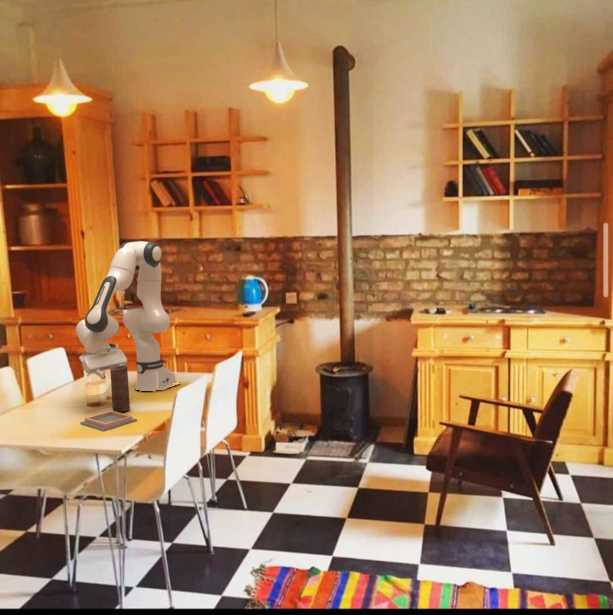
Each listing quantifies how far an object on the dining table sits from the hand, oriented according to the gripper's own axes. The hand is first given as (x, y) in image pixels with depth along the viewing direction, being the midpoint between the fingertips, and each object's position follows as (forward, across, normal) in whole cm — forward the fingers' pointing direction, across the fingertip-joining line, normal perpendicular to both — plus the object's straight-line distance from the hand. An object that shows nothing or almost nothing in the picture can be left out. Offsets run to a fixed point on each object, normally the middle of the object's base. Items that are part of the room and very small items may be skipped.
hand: (113, 376), depth 299 cm
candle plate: (+20, -12, +2) cm, 24 cm away
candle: (+14, 0, +8) cm, 16 cm away
